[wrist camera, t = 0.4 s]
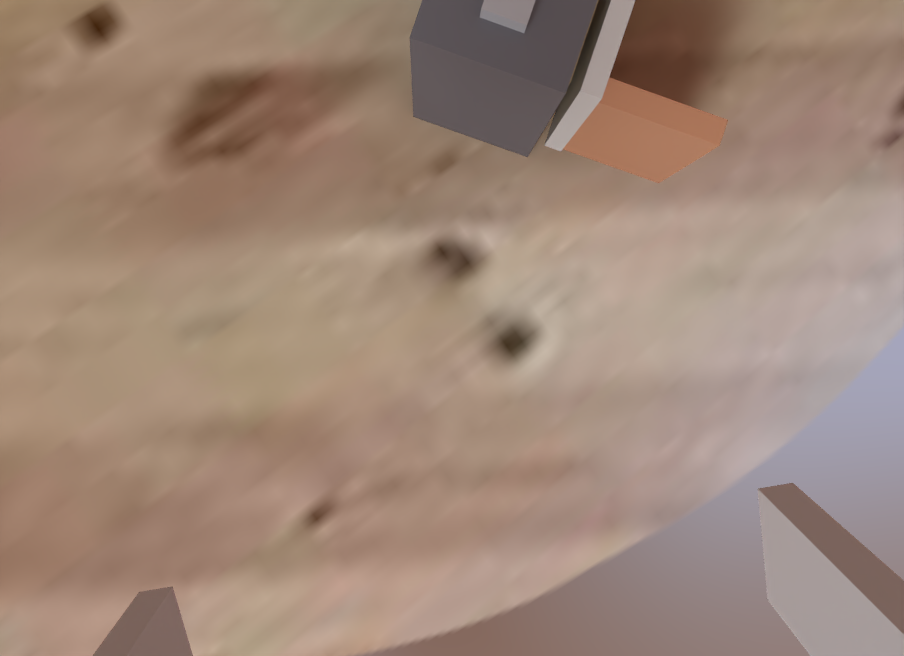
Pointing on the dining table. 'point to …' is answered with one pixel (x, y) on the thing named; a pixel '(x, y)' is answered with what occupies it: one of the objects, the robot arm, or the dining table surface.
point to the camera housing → (496, 65)
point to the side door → (626, 111)
